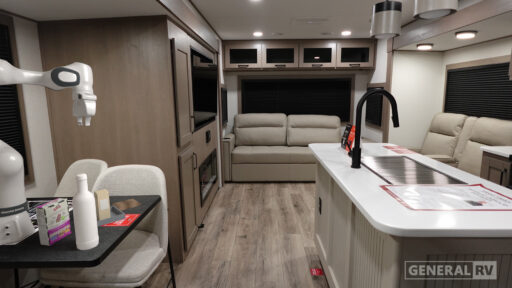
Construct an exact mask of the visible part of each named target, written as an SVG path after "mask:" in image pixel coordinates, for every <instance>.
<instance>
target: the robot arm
mask: <svg viewBox="0 0 512 288" xmlns="http://www.w3.org/2000/svg"><path fill="white" fill-rule="evenodd" d="M16 84H18V85H19V84H20V85H31V86H41V87H44V88H47V89H49V90H51V91H54V92H60V91H64V90H65V89H68V88H69V89H71V91H72V92H71V99H72V101H73V102H72V117H75V118H76V120H77V126H79V127H80V126H81V127H82V126H83V125H84V126H86V127H87V126H91V120H92V117H94V116H95V115H96V111H97V107H96V106H97V103H96V101H97V100H98V99H97V98H98V97H97V95H95V94H94V88H93V84H94V74H93V69H92V67H91V66H90V65H88V64H87V63H85V62H78V61H74V62H73V63H70V64H67V65H65V66H63V65H62V66H57V67H54V68H52V69H50V70H47V71H35V70H30V69H29V70H28V69H22V68H18V67H15V66H14V65H12V64H11V63H9V62H8V61H7V60H5V59H1V58H0V86H3V85H6V86H7V85H16ZM83 117H84V118H85V121H84V124H83ZM30 216H31V215H30V206H29V201H28V199H27V195H26V188H25V167H24V158H23V156H22V154H20V152H19V151H17V150H16V149H15V148H14V147H12V146H10V145H9V144H8V143H6V142H5V141H3V140H1V139H0V246H2V245H7V244H12V243H17V242H20V241H21V240H22V239H24V238H25V237H27V236H30V235H31V234H32V233H34V232H35V230H36V227H34V225H33V222H32V220H31V217H30Z"/></svg>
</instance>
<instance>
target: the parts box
mask: <svg viewBox="0 0 512 288" xmlns="http://www.w3.org/2000/svg"><path fill="white" fill-rule="evenodd" d="M93 196H94V198H95V206H96V217H97V219H98V220H103V219H106V218H110V217H111V215H110V206H111V204H110V194H109V190H107V189H106V188H104V189H98V190H94V191H93Z"/></svg>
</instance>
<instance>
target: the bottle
mask: <svg viewBox="0 0 512 288" xmlns="http://www.w3.org/2000/svg"><path fill="white" fill-rule="evenodd" d="M87 175H88V174H86V173H78V174H76V175H75V181H76V191H77V192H76V193H75V194H74V196H73V197H72V200H71V203H72V213H73V223H74V232H75V244H76V249H77V250H80V251H87V250H91V249H94V248H95V247H97V246H98V245H99V243H100V242H99V239H100V238H99V231H98V227H97V217H96V206H95V197H94V193H93V192H91V191H90V190H89V187H88V176H87Z"/></svg>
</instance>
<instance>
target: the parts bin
mask: <svg viewBox="0 0 512 288" xmlns="http://www.w3.org/2000/svg"><path fill="white" fill-rule="evenodd" d="M110 215H111V217H110V218H106V219H103V220H98V219H97V228H98V227H101V226H105V225H108V224H111V223H115V222H118V221H122V220H126V213H125V212H123V210H122V211H121V210H119V209H118V208H117V207H115V206H114V205H113V206H112V205H110Z"/></svg>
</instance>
